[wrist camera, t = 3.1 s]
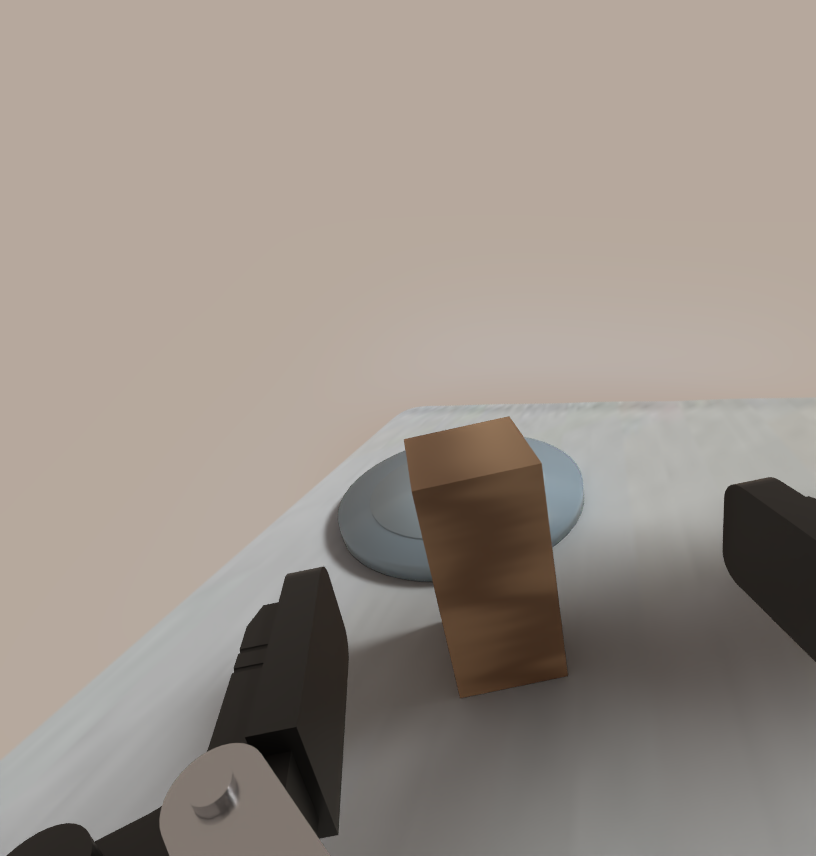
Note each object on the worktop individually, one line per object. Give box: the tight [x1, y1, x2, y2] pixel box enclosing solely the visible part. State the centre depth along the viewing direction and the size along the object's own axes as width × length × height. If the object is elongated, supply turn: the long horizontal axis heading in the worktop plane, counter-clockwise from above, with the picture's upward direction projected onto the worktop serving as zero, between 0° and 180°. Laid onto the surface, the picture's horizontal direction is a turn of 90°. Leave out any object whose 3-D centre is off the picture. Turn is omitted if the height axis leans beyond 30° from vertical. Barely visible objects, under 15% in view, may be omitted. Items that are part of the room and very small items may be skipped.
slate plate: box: [338, 437, 584, 582], centre depth 39 cm, size 18×18×1 cm
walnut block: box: [404, 417, 568, 698], centre depth 24 cm, size 5×5×11 cm
